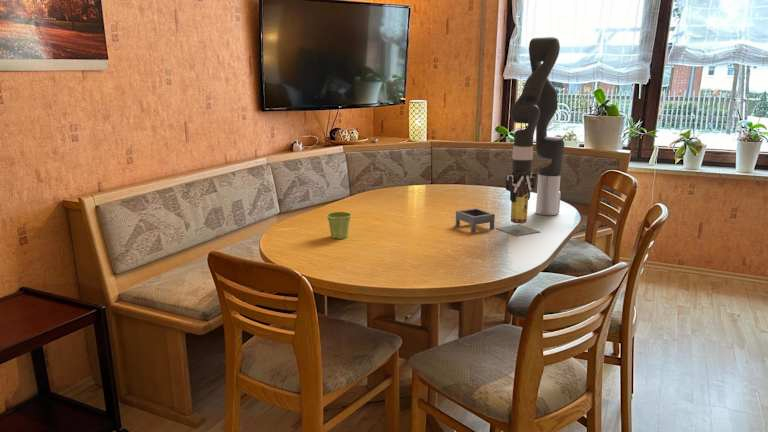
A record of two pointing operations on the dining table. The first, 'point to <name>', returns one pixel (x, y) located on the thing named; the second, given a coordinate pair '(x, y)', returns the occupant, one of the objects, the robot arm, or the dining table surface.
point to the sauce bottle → (520, 203)
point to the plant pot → (339, 224)
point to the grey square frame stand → (475, 218)
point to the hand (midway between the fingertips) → (519, 200)
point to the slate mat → (518, 230)
